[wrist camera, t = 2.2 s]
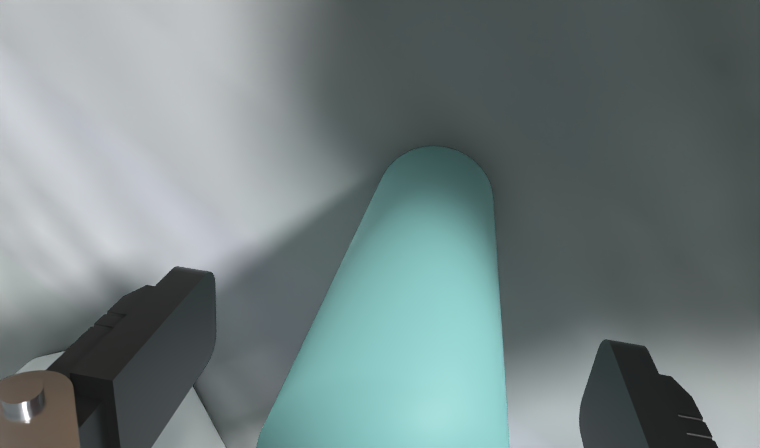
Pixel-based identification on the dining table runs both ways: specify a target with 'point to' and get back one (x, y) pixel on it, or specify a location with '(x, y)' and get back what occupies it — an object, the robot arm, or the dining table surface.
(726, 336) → the dining table surface
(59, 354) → the milk carton
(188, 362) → the robot arm
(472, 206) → the dowel
